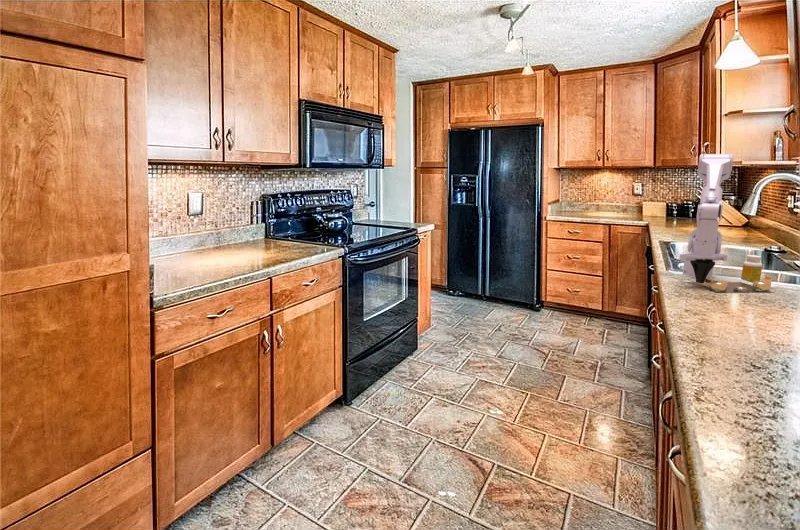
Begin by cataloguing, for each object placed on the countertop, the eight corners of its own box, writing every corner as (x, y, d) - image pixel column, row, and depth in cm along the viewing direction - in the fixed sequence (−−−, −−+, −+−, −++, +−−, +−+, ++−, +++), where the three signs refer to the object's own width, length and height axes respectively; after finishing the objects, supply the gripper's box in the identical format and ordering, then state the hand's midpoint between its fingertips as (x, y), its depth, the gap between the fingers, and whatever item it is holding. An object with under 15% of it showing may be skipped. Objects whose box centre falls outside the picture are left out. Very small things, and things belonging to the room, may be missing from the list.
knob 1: (729, 291, 148) (731, 282, 148) (716, 292, 148) (717, 282, 147) (705, 283, 159) (706, 274, 158) (692, 283, 159) (693, 274, 158)
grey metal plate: (686, 286, 162) (687, 278, 161) (740, 286, 163) (741, 278, 162) (715, 297, 148) (716, 289, 147) (773, 297, 149) (775, 288, 148)
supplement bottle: (751, 285, 164) (755, 257, 162) (736, 281, 169) (740, 254, 167) (763, 284, 166) (767, 257, 164) (748, 281, 171) (752, 254, 169)
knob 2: (767, 292, 148) (769, 283, 147) (750, 289, 151) (751, 280, 150) (776, 286, 155) (777, 277, 155) (759, 284, 158) (761, 275, 158)
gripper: (691, 242, 148) (686, 285, 151) (736, 242, 149) (730, 285, 152) (677, 239, 155) (672, 280, 158) (720, 239, 156) (714, 280, 159)
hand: (699, 282), depth 155 cm, fingers closed
